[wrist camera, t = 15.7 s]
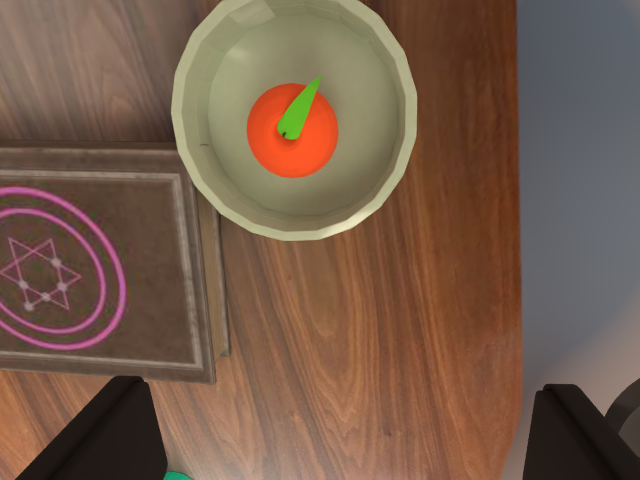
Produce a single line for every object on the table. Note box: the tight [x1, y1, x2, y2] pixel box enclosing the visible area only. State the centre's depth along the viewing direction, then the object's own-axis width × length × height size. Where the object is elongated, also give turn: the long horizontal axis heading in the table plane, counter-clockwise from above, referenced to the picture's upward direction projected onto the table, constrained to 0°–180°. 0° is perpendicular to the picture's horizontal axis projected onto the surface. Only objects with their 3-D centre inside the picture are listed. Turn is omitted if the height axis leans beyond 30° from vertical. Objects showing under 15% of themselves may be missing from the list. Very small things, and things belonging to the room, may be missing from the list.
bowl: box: [171, 0, 417, 241], centre depth 28 cm, size 18×18×6 cm
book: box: [0, 140, 231, 385], centre depth 34 cm, size 30×22×5 cm
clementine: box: [247, 75, 338, 178], centre depth 27 cm, size 8×7×7 cm
